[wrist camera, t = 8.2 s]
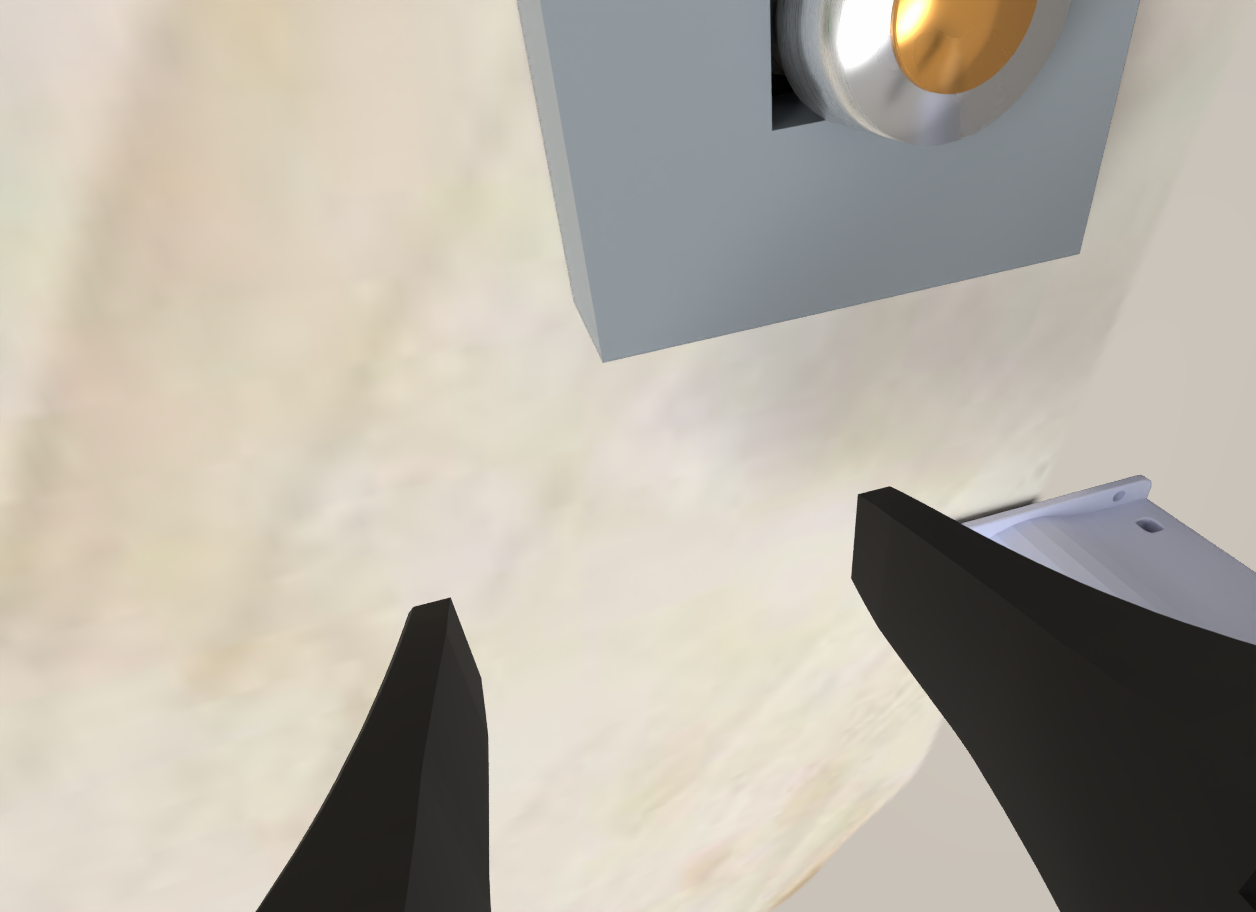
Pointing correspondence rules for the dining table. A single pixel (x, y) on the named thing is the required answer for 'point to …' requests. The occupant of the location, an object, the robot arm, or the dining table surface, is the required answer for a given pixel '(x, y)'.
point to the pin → (913, 61)
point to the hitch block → (787, 172)
